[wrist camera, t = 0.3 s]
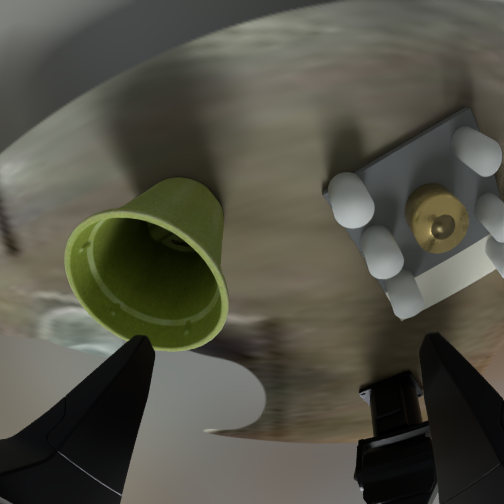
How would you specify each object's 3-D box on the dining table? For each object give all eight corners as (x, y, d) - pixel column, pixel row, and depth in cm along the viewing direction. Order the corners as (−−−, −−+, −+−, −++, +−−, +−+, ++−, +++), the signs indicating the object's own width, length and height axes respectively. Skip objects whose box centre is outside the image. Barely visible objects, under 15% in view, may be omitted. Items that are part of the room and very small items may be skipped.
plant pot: (258, 164, 20) (239, 231, 13) (239, 278, 26) (220, 366, 18) (125, 146, 20) (51, 199, 13) (129, 256, 26) (81, 330, 18)
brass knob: (459, 217, 20) (475, 235, 18) (416, 243, 21) (427, 263, 19) (442, 172, 18) (459, 187, 16) (395, 200, 20) (406, 218, 18)
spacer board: (509, 254, 21) (528, 278, 18) (399, 316, 26) (408, 346, 23) (462, 97, 16) (490, 107, 13) (316, 183, 21) (321, 206, 18)
